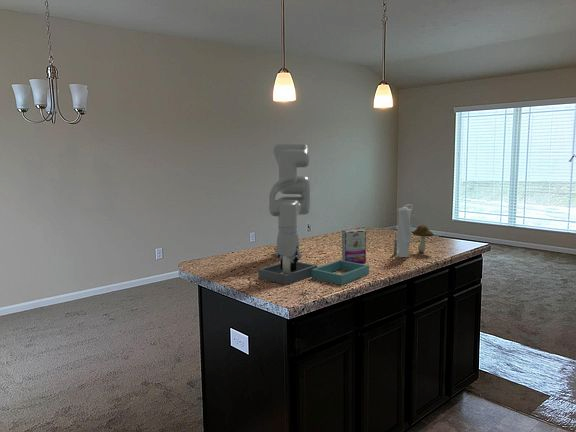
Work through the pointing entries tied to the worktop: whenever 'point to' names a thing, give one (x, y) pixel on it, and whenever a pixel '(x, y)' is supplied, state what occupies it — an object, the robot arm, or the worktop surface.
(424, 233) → the mushroom
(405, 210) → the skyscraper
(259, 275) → the bin
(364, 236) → the candy bar box
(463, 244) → the worktop surface
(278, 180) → the robot arm
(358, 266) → the bin
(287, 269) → the canister
